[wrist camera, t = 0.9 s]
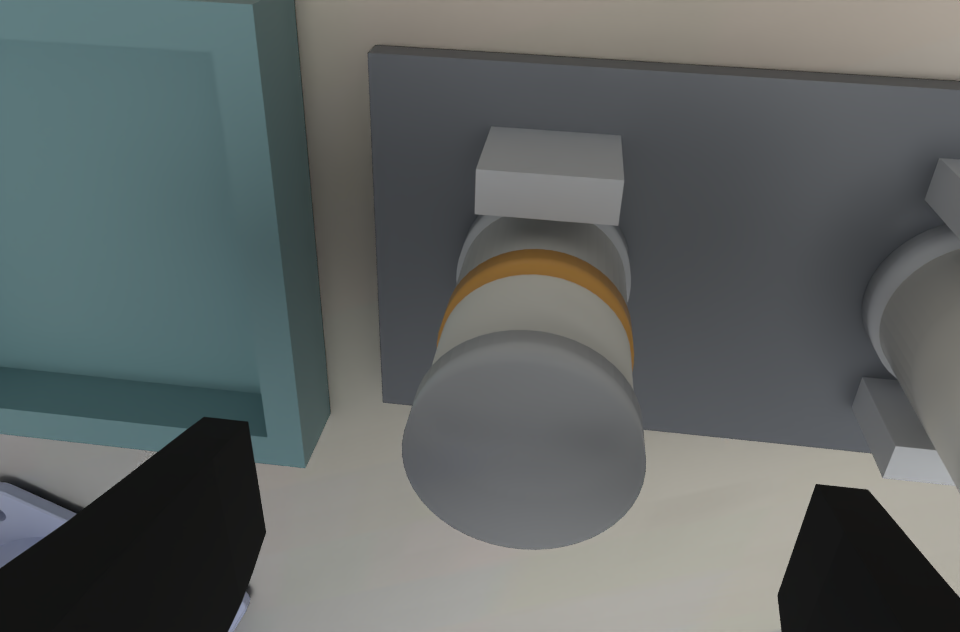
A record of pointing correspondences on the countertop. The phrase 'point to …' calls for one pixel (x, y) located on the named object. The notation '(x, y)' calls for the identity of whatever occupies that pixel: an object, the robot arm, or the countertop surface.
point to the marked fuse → (531, 388)
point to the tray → (157, 225)
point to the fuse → (922, 332)
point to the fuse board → (679, 223)
